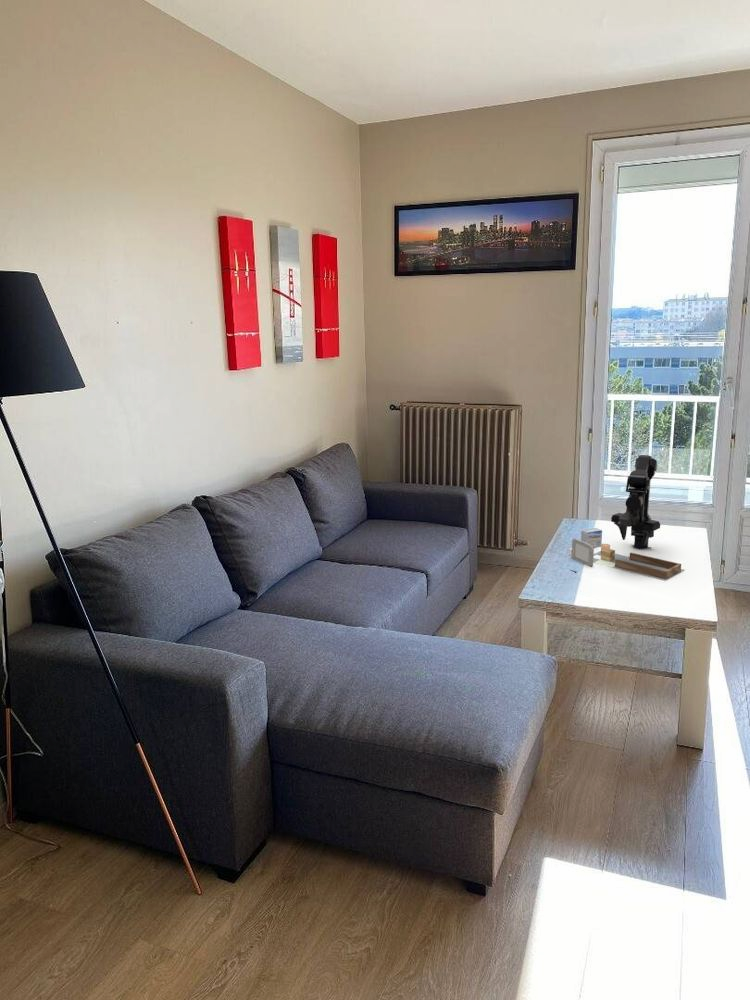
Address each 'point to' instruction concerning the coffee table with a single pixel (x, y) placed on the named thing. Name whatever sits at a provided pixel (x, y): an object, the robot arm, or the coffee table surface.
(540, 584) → the coffee table surface
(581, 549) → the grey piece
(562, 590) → the coffee table surface
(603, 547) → the peach dome
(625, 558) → the slate board
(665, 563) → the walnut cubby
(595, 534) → the medicine box
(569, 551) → the cream cube
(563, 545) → the coffee table surface
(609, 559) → the oak block
